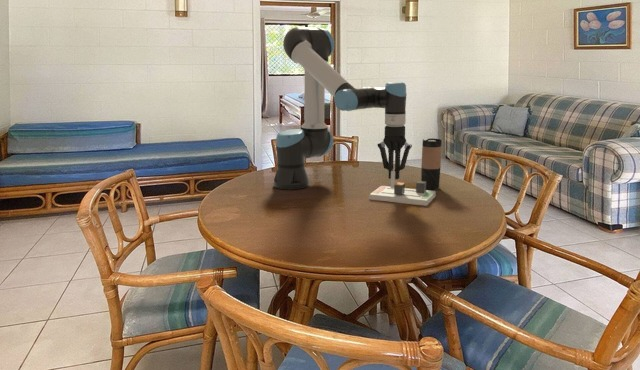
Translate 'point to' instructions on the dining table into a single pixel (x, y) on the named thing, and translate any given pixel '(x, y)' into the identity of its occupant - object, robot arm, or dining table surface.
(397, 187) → the breaker handle
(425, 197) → the board
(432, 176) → the travel mug
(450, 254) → the dining table surface
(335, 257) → the dining table surface
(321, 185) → the dining table surface
